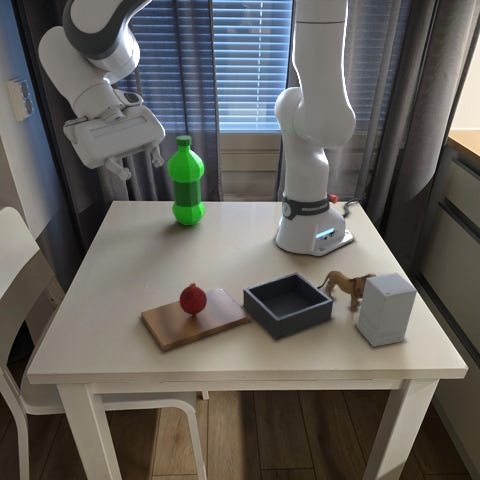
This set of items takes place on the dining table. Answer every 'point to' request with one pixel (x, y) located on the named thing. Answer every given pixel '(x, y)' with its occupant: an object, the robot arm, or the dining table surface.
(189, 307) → the red pomegranate
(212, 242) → the dining table surface
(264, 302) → the tub
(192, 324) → the cutting board
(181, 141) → the plastic bottle
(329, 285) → the lion figurine
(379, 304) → the white packaging box
